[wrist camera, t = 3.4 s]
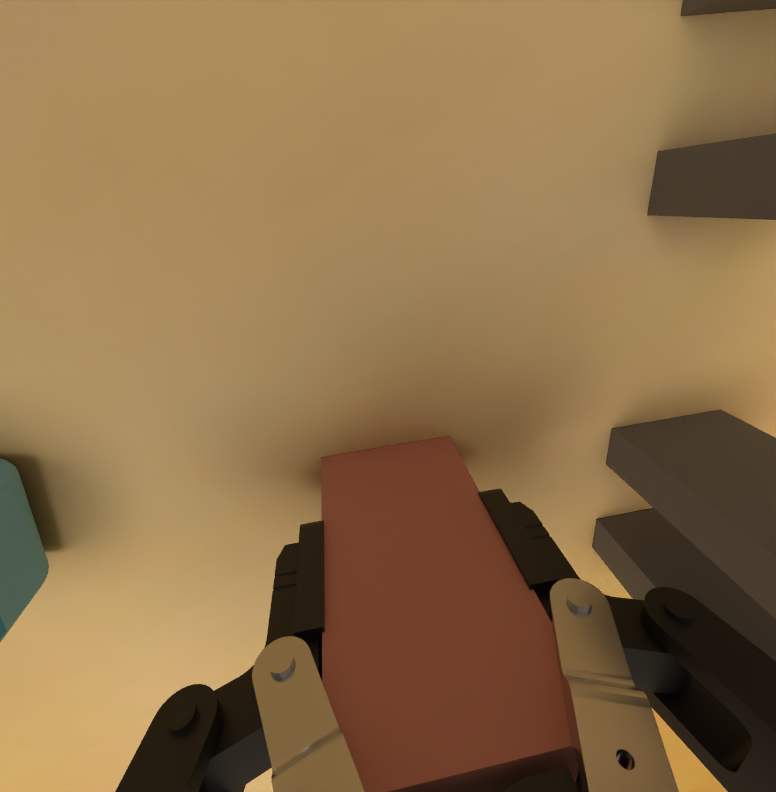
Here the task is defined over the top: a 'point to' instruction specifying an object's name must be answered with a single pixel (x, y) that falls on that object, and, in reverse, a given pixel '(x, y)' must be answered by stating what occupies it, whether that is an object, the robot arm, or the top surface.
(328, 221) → the top surface
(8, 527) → the data package
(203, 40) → the top surface
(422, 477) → the domino
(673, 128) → the top surface
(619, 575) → the domino
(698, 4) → the domino
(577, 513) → the top surface
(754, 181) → the domino
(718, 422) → the domino
